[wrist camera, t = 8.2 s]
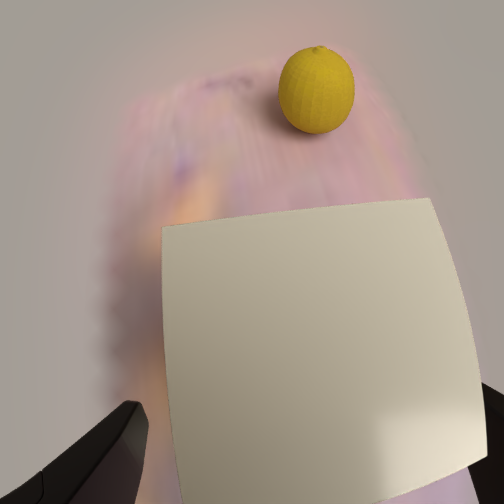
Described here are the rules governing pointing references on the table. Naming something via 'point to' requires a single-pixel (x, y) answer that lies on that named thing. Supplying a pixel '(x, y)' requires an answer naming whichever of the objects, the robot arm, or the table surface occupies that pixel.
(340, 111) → the lemon
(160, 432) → the table surface
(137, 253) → the table surface
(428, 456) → the clay bar
